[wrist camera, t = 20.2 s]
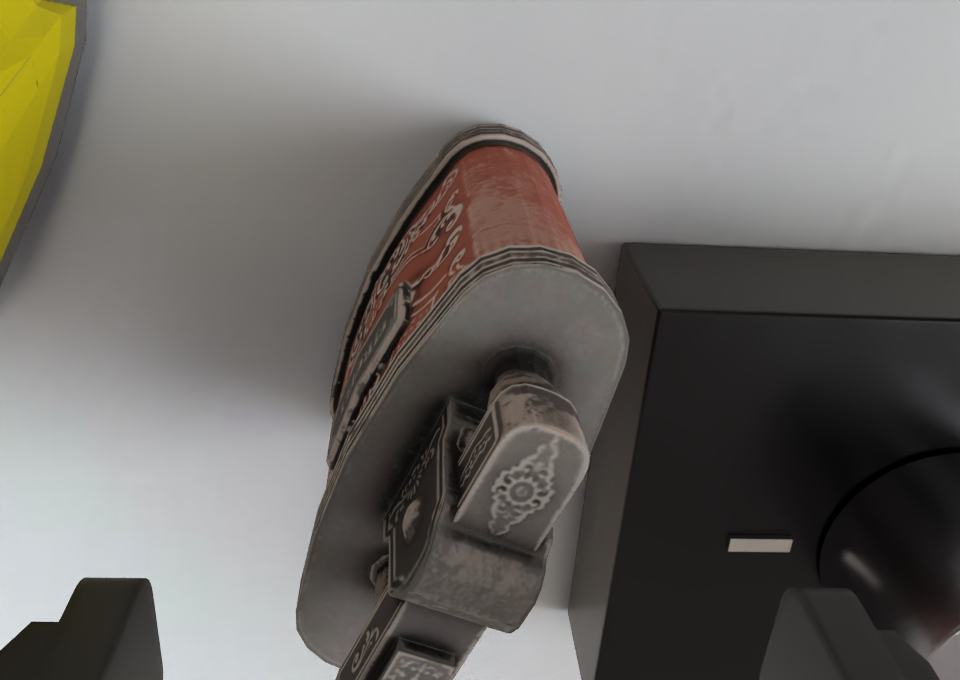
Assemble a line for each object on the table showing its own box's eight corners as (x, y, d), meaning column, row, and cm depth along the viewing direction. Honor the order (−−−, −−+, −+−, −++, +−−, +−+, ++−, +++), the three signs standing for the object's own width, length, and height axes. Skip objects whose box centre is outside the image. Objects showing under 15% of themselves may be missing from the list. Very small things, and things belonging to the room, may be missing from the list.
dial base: (1206, 264, 21) (1347, 335, 18) (1041, 614, 26) (1129, 718, 23) (621, 241, 20) (661, 313, 17) (566, 611, 25) (589, 722, 22)
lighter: (446, 95, 18) (477, 308, 9) (591, 164, 19) (742, 418, 10) (302, 405, 21) (222, 781, 13) (431, 452, 22) (443, 836, 13)
